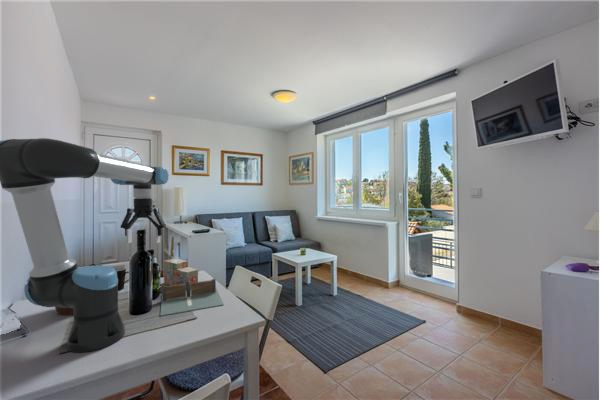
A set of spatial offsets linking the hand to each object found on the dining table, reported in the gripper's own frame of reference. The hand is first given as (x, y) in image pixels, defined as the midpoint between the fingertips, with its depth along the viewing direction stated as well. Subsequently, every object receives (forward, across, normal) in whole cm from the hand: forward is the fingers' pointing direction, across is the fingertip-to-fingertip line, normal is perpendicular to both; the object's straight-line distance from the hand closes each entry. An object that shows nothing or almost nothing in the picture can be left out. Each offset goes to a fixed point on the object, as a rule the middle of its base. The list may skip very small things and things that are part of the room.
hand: (143, 242), depth 130 cm
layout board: (+24, -26, +8) cm, 36 cm away
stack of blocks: (+24, -12, -12) cm, 30 cm away
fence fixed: (+24, -19, +7) cm, 31 cm away
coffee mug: (+24, +16, -5) cm, 30 cm away
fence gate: (+23, -29, +2) cm, 37 cm away
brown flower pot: (+24, +18, +17) cm, 35 cm away
